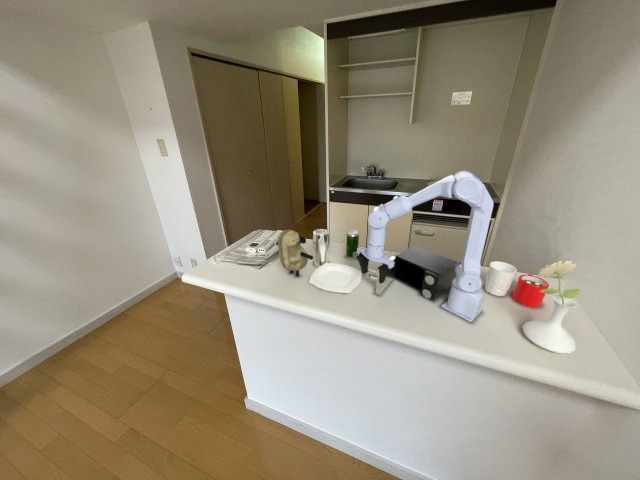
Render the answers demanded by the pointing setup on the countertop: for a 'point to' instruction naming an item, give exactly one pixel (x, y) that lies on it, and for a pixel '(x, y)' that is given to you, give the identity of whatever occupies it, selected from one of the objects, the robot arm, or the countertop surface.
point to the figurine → (292, 251)
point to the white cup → (499, 278)
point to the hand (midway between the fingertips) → (372, 277)
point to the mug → (529, 290)
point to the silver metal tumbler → (320, 246)
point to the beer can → (352, 244)
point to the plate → (336, 277)
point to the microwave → (425, 271)
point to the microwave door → (378, 286)
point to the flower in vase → (554, 314)
